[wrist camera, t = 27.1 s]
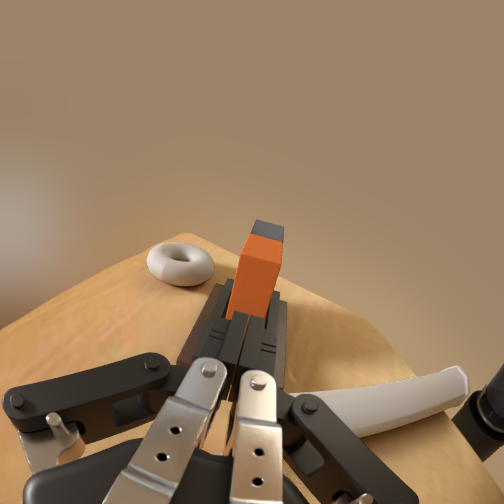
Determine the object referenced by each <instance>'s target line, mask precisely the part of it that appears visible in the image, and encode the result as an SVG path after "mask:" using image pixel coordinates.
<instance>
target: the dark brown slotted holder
mask: <svg viewBox="0 0 504 504" xmlns="http://www.w3.org/2000/svg"><path fill="white" fill-rule="evenodd" d="M251 234H255V235H259V236H263V237H266V238H270V239H274V240H278V241H281V242H283V237H284V236H283V235H284V227H283V226H279V225H276V224H272V223H268V222H264V221H260V220H256V222H255V224H254V226H253V229H252V231H251ZM233 284H234V280H232V279H228V278H227V280H226V282H225V284H224V285H221V284H217V283H216V285H215V286H214V288H213V290H212V292H211V294H210V296H209V298H208V300H207V302H206V304H205V306H204V308H203V310H202V311H201V313H200V315H199V317H198V319H197V321H196V323H195V325H194V327H193V329H192V331H191V333H190V335H189V337H188V339H187V341H186V343H185V345H184V346H183V348H182V350H181V352H180V354H179V356H178V358H177V362H176V365H179V366H185V365H190V364H192V363H193V362H194V361H195V360H196V359H198V358H199V357H200V355H201V352H202V350H203V347H204V345H205V343H206V340H207V338H208V336H209V333H210V331H211V328H212V326H213V324H214V322H215V321H217V320H218V319H219V318H225V319H226V314H227V310H228V306H229V301H230V297H231V293H232V288H233ZM279 299H280V292H278V291H274V290H273V294H272V297H271V300H270V303H269V306H268V310H267V313H266V316H265V325H264V329H267V330H271V331H274V333H275V335H276V337H277V347H276V348H277V349H276V360H275V371H274V380H275V382H276V385H277V386H278V387H279V388H280V389H281V390H282V391H283V389H284V373H285V351H286V323H287V302H285V301H281V300H279ZM236 366H237V365H236ZM235 370H236V369H235ZM234 374H235V372H234ZM233 378H234V376H233ZM232 382H233V379H232ZM231 385H232V383H231Z"/></svg>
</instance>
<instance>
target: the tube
mask: <svg viewBox="0 0 504 504" xmlns="http://www.w3.org/2000/svg"><path fill="white" fill-rule="evenodd" d="M469 389H470V388H469V377H468V375H467V374H466V372H465V371H464V370H463V369H462V368H461V367H460V366H459V365H456V366H453V367H449V368H446V369H444V370H443V371H440V372H436V373H432V374H428V375H424V376H419V377H414V378H410V379H405V380H400V381H394V382H389V383H383V384H377V385H371V386H364V387H356V388H348V389H340V390H330V391H319V392H305V393H287V394H289V395H291V396H294V397H297V396H298V395H300V394H313V395H316V396H318V397H319V398H321V399H322V400H323V401H324V402H325V403H326V404H327V405H328V407H329V408H330V409H331V410H332V411H333V412H334V413H335V414H336V415H337V416H338V417H339V418H340V419H341V420H342V421H343V422H344V423H345V424H346V425H347V426H348V428H349V429H350V430H351V431H352V432H353V433H354V434H355V435H356V436H357V437H358V438H361V437H365V436H369V435H373V434H377V433H380V432H384V431H387V430H390V429H394V428H397V427H400V426H403V425H406V424H409V423H412V422H415V421H418V420H421V419H423V418H426V417H429V416H431V415H434V414H436V413H439V412H441V411H443V410H446V409H448V408H451V407H456V406H459V405H460V404H461V403H462V402H463V400H464V399H465V398H466V397H467V396H468V395H469V393H470V390H469Z"/></svg>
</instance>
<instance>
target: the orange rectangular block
mask: <svg viewBox="0 0 504 504" xmlns="http://www.w3.org/2000/svg"><path fill="white" fill-rule="evenodd" d="M282 246H283V242H281V241H278V240H274V239H270V238H266V237H263V236H259V235H255V234H251V233H250V234H249V236H248V239H247V241H246V243H245V245H244V248H243V250H242V252H241V254H240V259H239V263H238V267H237V271H236V276H235V280H234V284H233V288H232V293H231V297H230V301H229V306H228V310H227V314H226V319H229V320H231V319H232V316H233V313H234V310H235V311H239V312H243V313H247V314H249V317H248V322H249V318H250V315H254V316H258V317H262V318H265V316H266V313H267V310H268V306H269V303H270V300H271V297H272V294H273V290H274V287H275V284H276V280H277V277H278V274H279V271H280V267H281V261H282ZM248 322H247V325H248ZM246 329H247V326H246ZM245 332H246V330H245ZM244 336H245V334H244ZM243 339H244V338H243ZM242 343H243V342H242ZM241 347H242V346H241Z"/></svg>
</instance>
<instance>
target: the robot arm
mask: <svg viewBox="0 0 504 504" xmlns="http://www.w3.org/2000/svg"><path fill="white" fill-rule="evenodd" d="M248 317H249V314H247V313H243V312H239V311H235V310H234V313H233V316H232V319H231V320H229V319H225V318H219V319H218V320H217V321H215V322H214V324H213V326H212V328H211V331H210V333H209V336H208V338H207V340H206V343H205V345H204V347H203V350H202V352H201V355H200V357H199V358H198V359H196V360H195V361H194V362H193V363H192V364H190V365H185V366H179V365H170V362H169V361H168V359H167V358H165V357H164V356H163V355H160V354H158V353H151V352H149V353H144V354H140V355H137V356H134V357H131V358H127V359H124V360H121V361H117V362H114V363H110V364H107V365H103V366H100V367H96V368H93V369H89V370H85V371H82V372H78V373H74V374H70V375H66V376H62V377H58V378H54V379H50V380H46V381H42V382H37V383H33V384H28V385H24V386H19V387H14V388H11V389H9V390H8V391H7V392H6V393H5V394H4V396H3V399H2V406H3V409H4V411H5V413H6V414H7V416H8V417H9V419H10V420H11V423H12V425H13V426H14V428H15V429H16V430H17V432H18V434H19V437H20V441H21V444H22V447H23V450H24V453H25V455H26V458H27V461H28V464H29V466H30V469H31V471H32V474H33V475H32V476H31V477H30V478H29V479H28V481H27V482H26V484H25V486H24V489H23V504H309V502H308V501H307V500H306V499H305V497H304V496H303V495H302V493H301V492H300V491H299V490H298V488H297V487H296V486H295V485H294V483H293V482H292V481H291V480H290V479H288V478H287V477H286V476H285V475H283V459H284V460H285V461H286V462H287V464H288V465H289V466H290V467H291V469H292V470H293V471H294V472H295V474H296V475H297V476H298V477H299V479H300V480H301V481H302V482H303V483H304V485H305V486H306V487H307V488H308V489H309V490H310V492H311V493H312V494H313V495H314V496H315V497H316V498H317V500H318V501H319V502H320V503H321V504H419V499H418V496H417V494H416V493H415V492H414V491H413V490H412V489H411V488H410V487H409V486H407V485H406V484H405V483H404V482H403V481H402V480H401V479H400V478H399V477H398V476H397V475H396V474H395V473H394V472H393V471H392V470H391V469H389V468H388V467H387V466H386V465H385V464H384V463H383V462H382V461H381V460H380V459H379V458H378V457H377V456H376V455H375V454H374V453H373V452H372V451H371V450H370V449H369V448H368V447H367V446H366V445H365V444H364V443H363V442H362V441H361V440H360V439H359V438H358V437H357V436H356V435H355V434H354V433H353V432H352V431H351V430H350V429H349V428H348V426H347V425H346V424H345V423H344V422H343V421H342V420H341V419H340V418H339V417H338V416H337V415H336V414H335V413H334V412H333V411H332V410H331V409H330V408H329V407H328V405H327V404H326V403H325V402H324V401H323V400H322V399H321V398H319V397H318V396H316V395H313V394H300V395H298V396H297V397H294V396H291V395H289V394H287V393H285V392H284V391H282V390H281V389H280V388H279V387H278V386H277V385H276V382H275V380H274V371H275V360H276V349H277V348H276V347H277V337H276V335H275V333H274V331H271V330H267V329H264V325H265V318H262V317H258V316H254V315H250V318H249V322H248ZM247 322H248V325H247ZM246 326H247V329H246ZM245 330H246V332H245ZM244 334H245V336H244ZM243 338H244V339H243ZM242 342H243V343H242ZM241 346H242V347H241ZM236 365H237V366H236ZM235 369H236V370H235ZM234 372H235V374H234ZM233 376H234V378H233ZM232 379H233V382H232ZM231 383H232V386H231ZM486 385H487V384H486ZM486 385H485V386H484V388H483V389H482V392H481V393H480V395H479V396H478V397H477V398H476V401H475V410H476V413H477V415H478V417H479V419H480V421H481V422H482V424H483V425H484V426H485V427H486V428H487V429H488V430H490V431H491V432H493V433H495V434H498V435H504V364H503V365H502V366H501V368H500V369H499V371H498V372H497V374H496V375H495V376H494V378H493V379H492V380H491V381H490V383H489V384H488V386H487V387H486ZM230 386H231V390H230V394H229V398H228V401H230V402H232V407H231V410H230V413H229V417H228V423H227V431H226V438H225V445H224V451H223V456H218V455H212V454H210V453H208V452H206V451H204V450H202V448H203V445H204V443H205V440H206V438H207V435H208V433H209V430H210V428H211V425H212V423H213V420H214V418H215V415H216V412H217V411H218V409H219V407H220V404H221V400H226V399H227V396H228V393H229V389H230ZM153 420H154V422H153V423H152V425H151V427H150V429H149V430H148V432H147V434H146V435H145V437H144V438H137V439H132V440H128V441H125V442H123V443H120V444H118V445H115V446H113V447H110V448H108V449H105V450H103V451H100V452H97V453H95V454H92V455H89V456H86V457H84V458H81V459H78V458H80V457H81V456H82V455H83V453H84V451H85V445H87V444H90V443H93V442H96V441H99V440H102V439H105V438H108V437H111V436H114V435H116V434H119V433H122V432H125V431H127V430H130V429H133V428H135V427H138V426H140V425H143V424H145V423H148V422H150V421H153ZM76 459H78V460H76ZM74 460H75V461H74Z"/></svg>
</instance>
